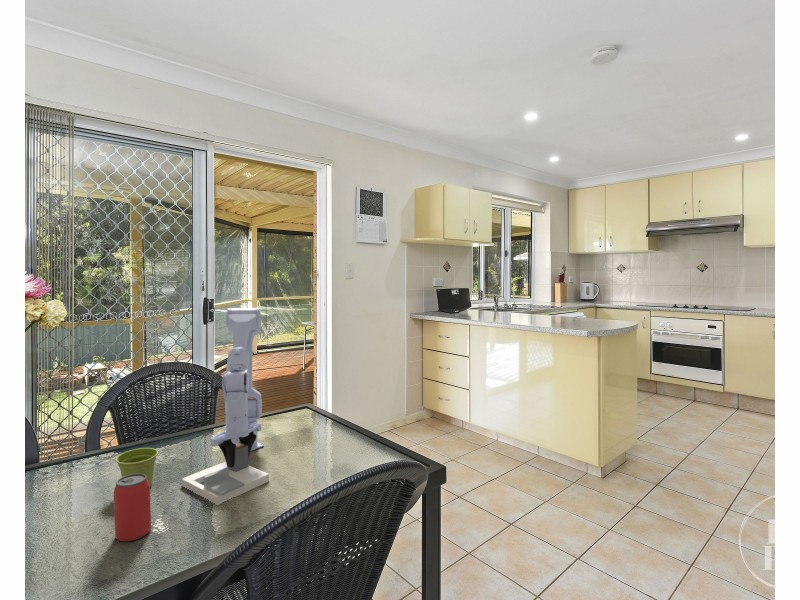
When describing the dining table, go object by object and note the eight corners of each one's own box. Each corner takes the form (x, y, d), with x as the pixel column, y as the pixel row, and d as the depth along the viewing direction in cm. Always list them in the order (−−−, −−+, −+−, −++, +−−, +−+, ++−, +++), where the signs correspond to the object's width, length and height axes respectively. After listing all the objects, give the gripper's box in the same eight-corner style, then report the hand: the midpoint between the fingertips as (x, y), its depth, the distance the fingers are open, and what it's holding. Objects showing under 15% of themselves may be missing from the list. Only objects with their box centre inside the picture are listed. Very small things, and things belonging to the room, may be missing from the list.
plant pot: (167, 482, 118) (166, 450, 117) (136, 500, 109) (134, 465, 108) (140, 477, 121) (139, 445, 120) (107, 493, 112) (106, 459, 111)
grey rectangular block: (226, 468, 122) (226, 445, 121) (239, 462, 125) (239, 441, 125) (235, 472, 119) (235, 449, 119) (248, 466, 123) (248, 444, 122)
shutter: (203, 487, 111) (203, 476, 111) (226, 477, 116) (226, 467, 116) (221, 496, 107) (220, 485, 107) (244, 485, 112) (244, 475, 112)
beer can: (125, 525, 98) (123, 472, 97) (156, 524, 99) (154, 471, 98) (108, 544, 91) (106, 487, 91) (142, 542, 92) (140, 486, 91)
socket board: (181, 486, 116) (181, 478, 116) (232, 465, 128) (232, 458, 128) (217, 505, 106) (217, 497, 106) (268, 481, 119) (268, 473, 119)
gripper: (221, 425, 113) (222, 477, 114) (268, 410, 125) (268, 458, 126) (205, 419, 117) (206, 470, 118) (252, 406, 129) (253, 451, 130)
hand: (237, 463), depth 122 cm, fingers closed on grey rectangular block, 4 cm apart
